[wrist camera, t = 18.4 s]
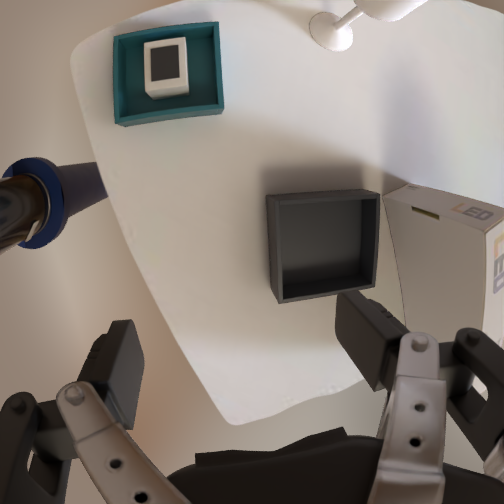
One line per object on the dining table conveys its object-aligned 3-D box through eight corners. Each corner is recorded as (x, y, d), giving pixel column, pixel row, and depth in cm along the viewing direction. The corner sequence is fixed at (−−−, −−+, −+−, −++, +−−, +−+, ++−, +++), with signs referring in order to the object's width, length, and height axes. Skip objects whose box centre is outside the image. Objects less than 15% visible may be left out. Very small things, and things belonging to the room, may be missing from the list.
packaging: (430, 328, 52) (492, 384, 33) (406, 343, 51) (466, 406, 33) (411, 182, 41) (513, 210, 22) (381, 196, 41) (484, 231, 22)
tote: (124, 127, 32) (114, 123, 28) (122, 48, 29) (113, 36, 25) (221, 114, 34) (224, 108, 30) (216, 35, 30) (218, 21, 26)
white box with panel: (153, 100, 32) (144, 91, 26) (151, 57, 30) (143, 42, 24) (189, 95, 32) (187, 85, 27) (187, 52, 30) (185, 36, 25)
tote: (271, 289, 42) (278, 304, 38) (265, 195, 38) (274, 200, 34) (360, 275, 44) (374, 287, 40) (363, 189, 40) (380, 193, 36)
